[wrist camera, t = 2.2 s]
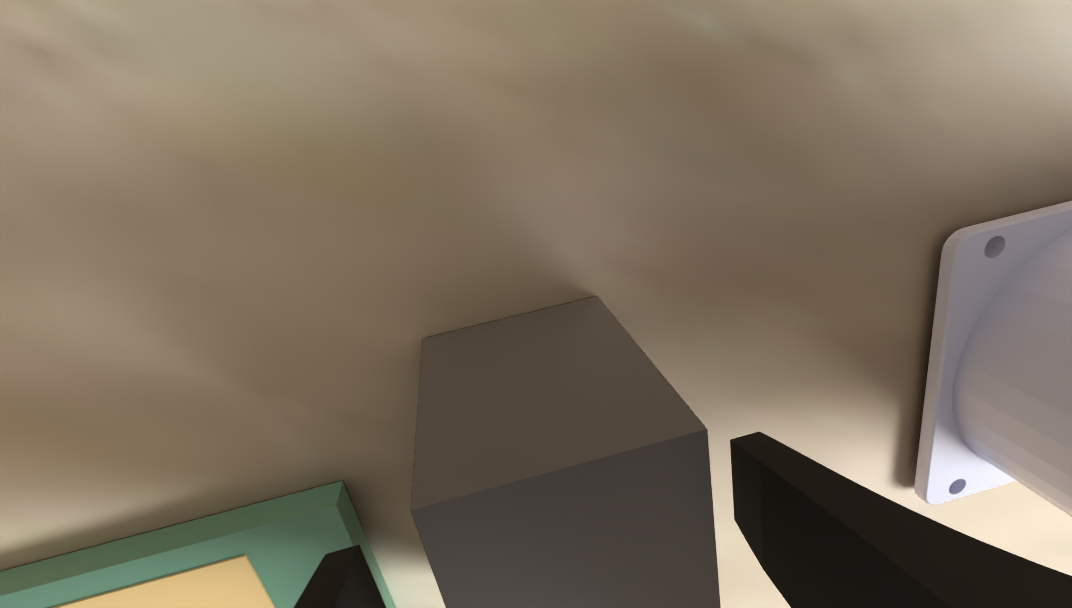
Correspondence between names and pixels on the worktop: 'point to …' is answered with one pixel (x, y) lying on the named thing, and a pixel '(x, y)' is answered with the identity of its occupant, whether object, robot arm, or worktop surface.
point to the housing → (560, 469)
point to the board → (203, 560)
